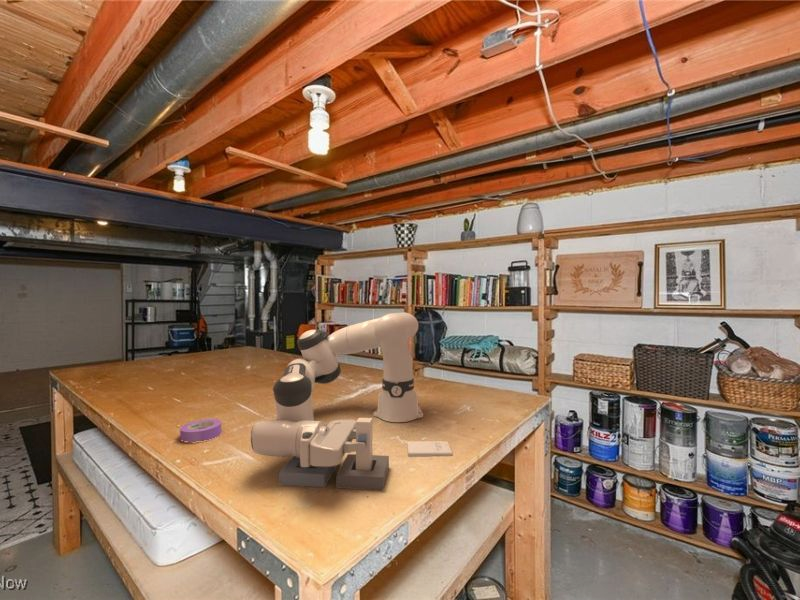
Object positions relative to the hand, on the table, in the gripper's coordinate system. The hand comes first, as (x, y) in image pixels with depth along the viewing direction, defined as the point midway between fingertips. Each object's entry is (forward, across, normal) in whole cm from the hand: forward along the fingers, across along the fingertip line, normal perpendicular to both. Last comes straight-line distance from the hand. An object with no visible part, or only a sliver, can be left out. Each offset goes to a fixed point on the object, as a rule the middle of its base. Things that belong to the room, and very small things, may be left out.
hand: (367, 440), depth 87 cm
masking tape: (-59, -21, -9) cm, 63 cm away
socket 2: (-1, 0, -9) cm, 9 cm away
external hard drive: (+15, -17, -10) cm, 25 cm away
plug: (-1, 0, -9) cm, 9 cm away
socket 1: (-15, 0, -9) cm, 17 cm away
